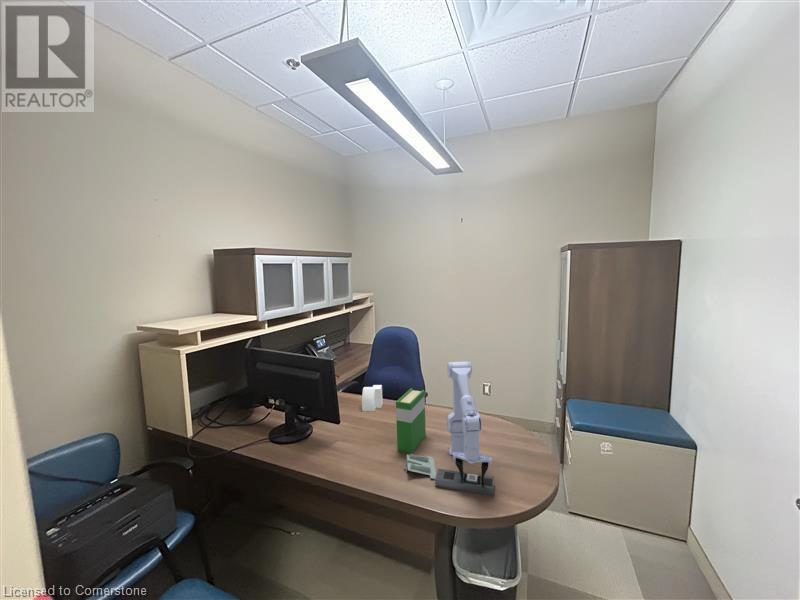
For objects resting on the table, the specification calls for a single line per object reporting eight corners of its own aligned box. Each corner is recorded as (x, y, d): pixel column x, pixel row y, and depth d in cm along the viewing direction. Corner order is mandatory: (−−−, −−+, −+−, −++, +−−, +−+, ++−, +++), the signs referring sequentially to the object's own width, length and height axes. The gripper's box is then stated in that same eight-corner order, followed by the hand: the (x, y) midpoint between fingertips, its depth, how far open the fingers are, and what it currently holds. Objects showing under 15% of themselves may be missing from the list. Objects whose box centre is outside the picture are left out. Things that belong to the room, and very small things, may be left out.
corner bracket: (382, 403, 208) (381, 385, 207) (379, 411, 197) (379, 392, 196) (366, 403, 209) (365, 385, 208) (362, 411, 198) (361, 392, 197)
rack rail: (438, 475, 136) (438, 468, 136) (493, 484, 130) (493, 476, 130) (435, 486, 130) (435, 479, 129) (493, 496, 123) (493, 488, 123)
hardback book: (412, 432, 171) (411, 388, 169) (425, 435, 168) (424, 390, 165) (397, 450, 156) (395, 401, 153) (412, 453, 152) (410, 404, 150)
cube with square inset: (467, 482, 131) (467, 473, 131) (477, 484, 130) (477, 474, 130) (466, 489, 128) (466, 479, 127) (477, 491, 126) (477, 481, 126)
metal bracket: (407, 468, 133) (405, 447, 148) (403, 481, 133) (402, 459, 148) (441, 476, 133) (436, 454, 148) (437, 489, 134) (433, 466, 149)
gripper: (451, 448, 125) (452, 481, 127) (491, 453, 121) (491, 488, 123) (454, 438, 132) (454, 470, 134) (491, 443, 128) (491, 476, 129)
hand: (472, 478), depth 129 cm, fingers open, 7 cm apart
